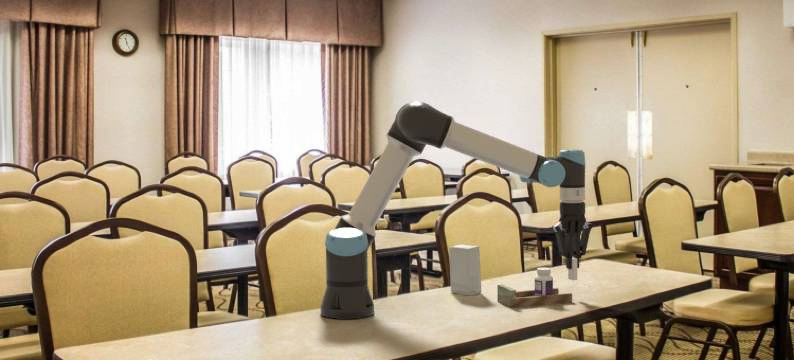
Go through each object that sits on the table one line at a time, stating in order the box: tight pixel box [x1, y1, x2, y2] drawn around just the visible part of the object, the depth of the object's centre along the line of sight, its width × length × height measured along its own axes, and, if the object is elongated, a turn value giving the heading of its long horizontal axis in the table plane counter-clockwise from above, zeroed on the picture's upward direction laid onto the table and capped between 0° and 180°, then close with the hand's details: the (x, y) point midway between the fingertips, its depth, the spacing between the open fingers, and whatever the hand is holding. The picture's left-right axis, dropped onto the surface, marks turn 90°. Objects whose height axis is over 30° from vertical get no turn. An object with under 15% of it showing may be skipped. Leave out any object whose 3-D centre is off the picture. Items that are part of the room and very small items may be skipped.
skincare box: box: [448, 244, 482, 296], centre depth 279 cm, size 8×6×15 cm
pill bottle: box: [534, 267, 554, 296], centre depth 267 cm, size 5×5×10 cm
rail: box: [497, 284, 573, 308], centre depth 267 cm, size 20×9×5 cm, turn 110°
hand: (572, 279), depth 271 cm, fingers closed
